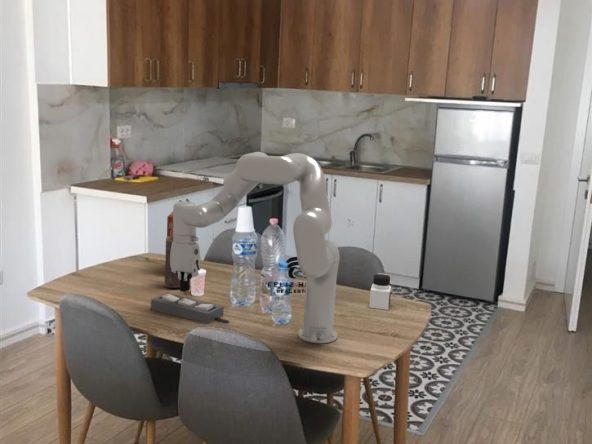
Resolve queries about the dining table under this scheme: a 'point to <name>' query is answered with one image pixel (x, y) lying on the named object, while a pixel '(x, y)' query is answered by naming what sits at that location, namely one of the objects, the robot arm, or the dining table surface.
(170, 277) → the candle
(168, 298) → the rocker far
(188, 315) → the power strip
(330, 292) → the robot arm
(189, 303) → the rocker middle
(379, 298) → the medicine bottle
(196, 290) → the beverage cup
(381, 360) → the dining table surface
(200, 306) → the rocker near
